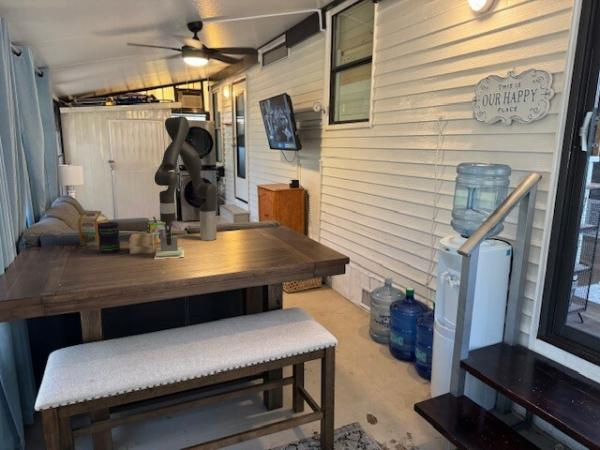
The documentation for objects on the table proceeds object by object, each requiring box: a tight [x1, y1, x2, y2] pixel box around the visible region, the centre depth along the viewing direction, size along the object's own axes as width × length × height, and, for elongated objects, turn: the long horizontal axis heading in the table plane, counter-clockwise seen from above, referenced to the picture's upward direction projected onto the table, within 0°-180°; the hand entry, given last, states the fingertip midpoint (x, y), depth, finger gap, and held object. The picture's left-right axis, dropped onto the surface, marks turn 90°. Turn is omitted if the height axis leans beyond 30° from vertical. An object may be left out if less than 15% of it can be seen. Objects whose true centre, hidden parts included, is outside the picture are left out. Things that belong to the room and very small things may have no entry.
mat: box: [153, 249, 185, 260], centre depth 204 cm, size 14×14×1 cm
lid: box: [155, 235, 183, 257], centre depth 203 cm, size 12×12×9 cm
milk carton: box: [77, 209, 109, 248], centre depth 222 cm, size 11×11×19 cm
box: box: [128, 233, 155, 255], centre depth 210 cm, size 11×11×8 cm
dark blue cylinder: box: [98, 221, 121, 255], centre depth 207 cm, size 10×10×15 cm
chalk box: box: [146, 216, 166, 244], centre depth 231 cm, size 9×9×15 cm
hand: (169, 243), depth 203 cm, fingers open, 8 cm apart
